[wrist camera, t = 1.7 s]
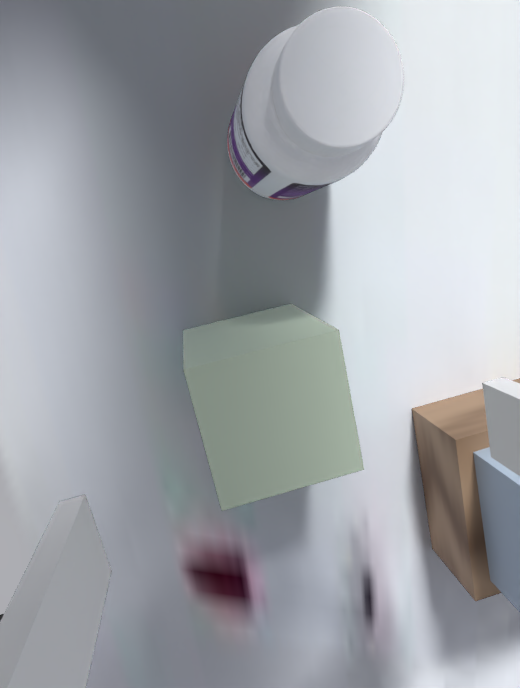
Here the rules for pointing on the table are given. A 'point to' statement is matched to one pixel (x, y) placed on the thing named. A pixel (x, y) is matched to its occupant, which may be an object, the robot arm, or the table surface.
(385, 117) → the pill bottle
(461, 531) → the tower base
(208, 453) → the green block
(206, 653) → the table surface
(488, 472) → the tower top
